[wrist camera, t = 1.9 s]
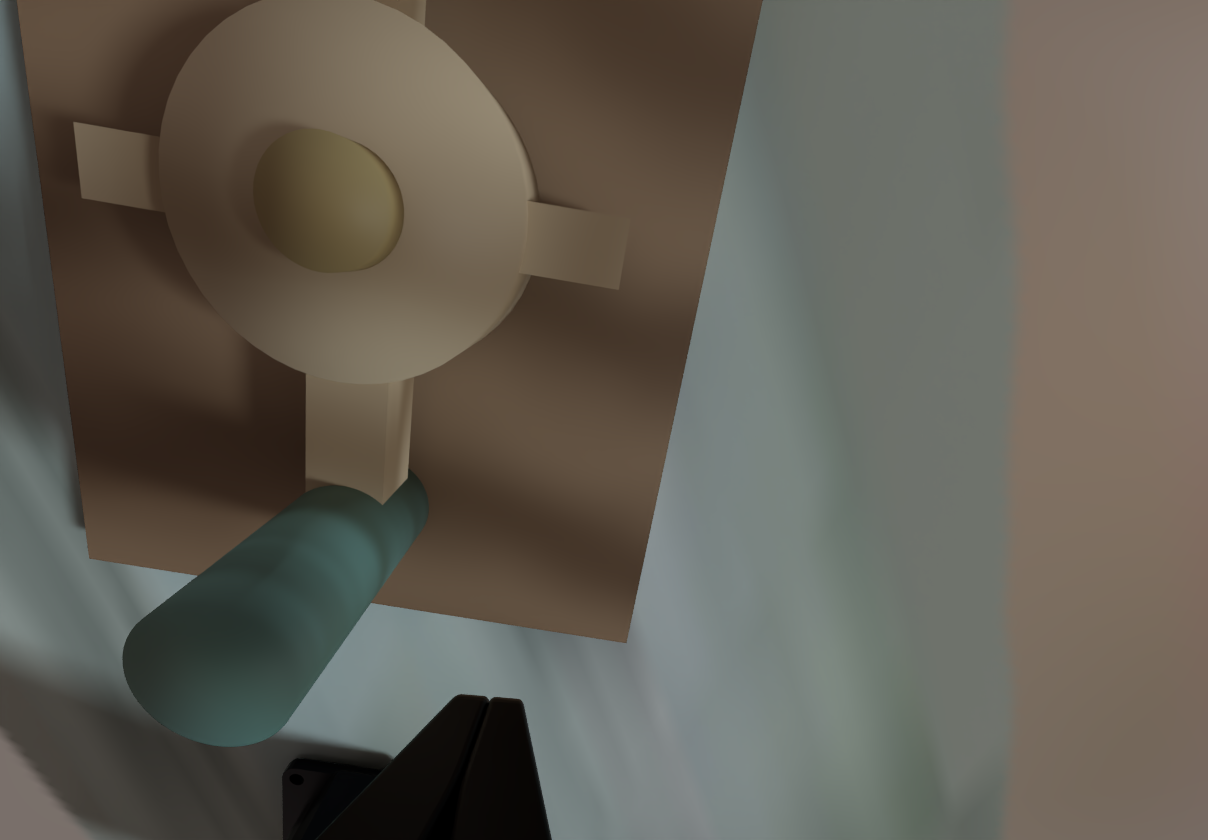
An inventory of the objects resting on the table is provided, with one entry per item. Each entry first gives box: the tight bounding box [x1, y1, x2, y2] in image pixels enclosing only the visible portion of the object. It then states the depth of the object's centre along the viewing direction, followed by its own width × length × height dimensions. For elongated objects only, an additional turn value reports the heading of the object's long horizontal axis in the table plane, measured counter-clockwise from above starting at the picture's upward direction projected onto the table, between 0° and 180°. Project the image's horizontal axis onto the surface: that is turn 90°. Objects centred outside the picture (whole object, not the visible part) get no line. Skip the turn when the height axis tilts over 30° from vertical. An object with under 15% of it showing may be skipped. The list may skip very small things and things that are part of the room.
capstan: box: [73, 0, 631, 747], centre depth 10 cm, size 14×11×6 cm
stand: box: [17, 0, 763, 643], centre depth 12 cm, size 20×16×6 cm
